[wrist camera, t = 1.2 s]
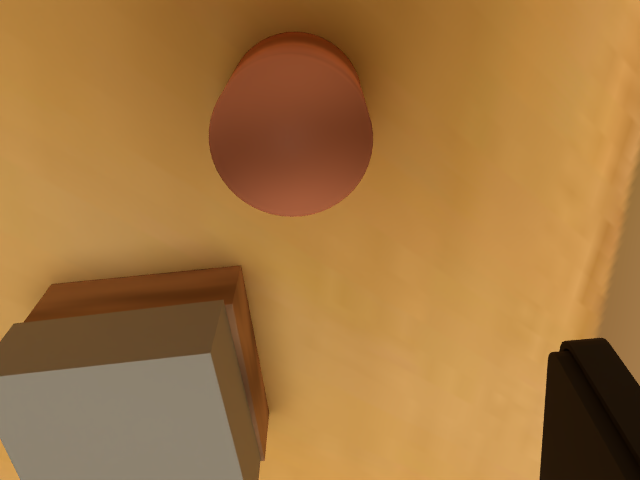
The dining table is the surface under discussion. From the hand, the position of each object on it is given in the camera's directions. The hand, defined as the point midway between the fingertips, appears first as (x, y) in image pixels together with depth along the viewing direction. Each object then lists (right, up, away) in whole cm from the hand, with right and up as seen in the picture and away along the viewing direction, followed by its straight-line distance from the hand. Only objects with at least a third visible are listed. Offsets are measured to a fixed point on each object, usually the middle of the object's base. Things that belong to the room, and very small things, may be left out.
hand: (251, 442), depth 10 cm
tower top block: (-8, -5, +21) cm, 23 cm away
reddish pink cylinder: (0, +9, +18) cm, 21 cm away
